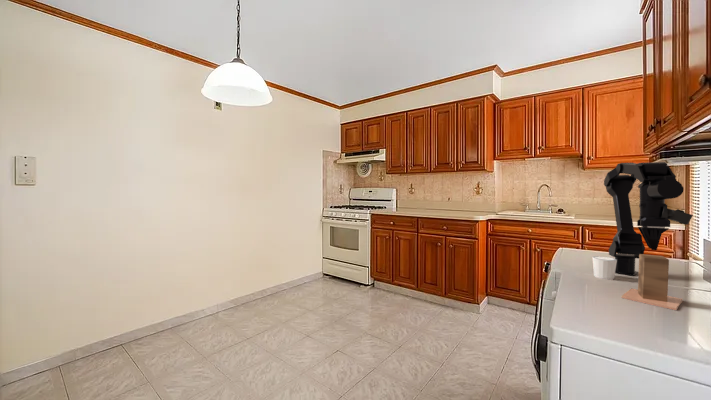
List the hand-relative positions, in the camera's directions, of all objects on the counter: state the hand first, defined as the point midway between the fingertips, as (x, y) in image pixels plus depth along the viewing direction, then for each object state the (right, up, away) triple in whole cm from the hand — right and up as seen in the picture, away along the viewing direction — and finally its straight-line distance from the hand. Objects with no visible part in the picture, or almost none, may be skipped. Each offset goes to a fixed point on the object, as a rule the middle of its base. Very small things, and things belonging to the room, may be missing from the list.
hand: (652, 249), depth 94 cm
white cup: (-5, -13, +13) cm, 19 cm away
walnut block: (-9, -13, -8) cm, 17 cm away
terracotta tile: (-9, -13, -8) cm, 18 cm away
